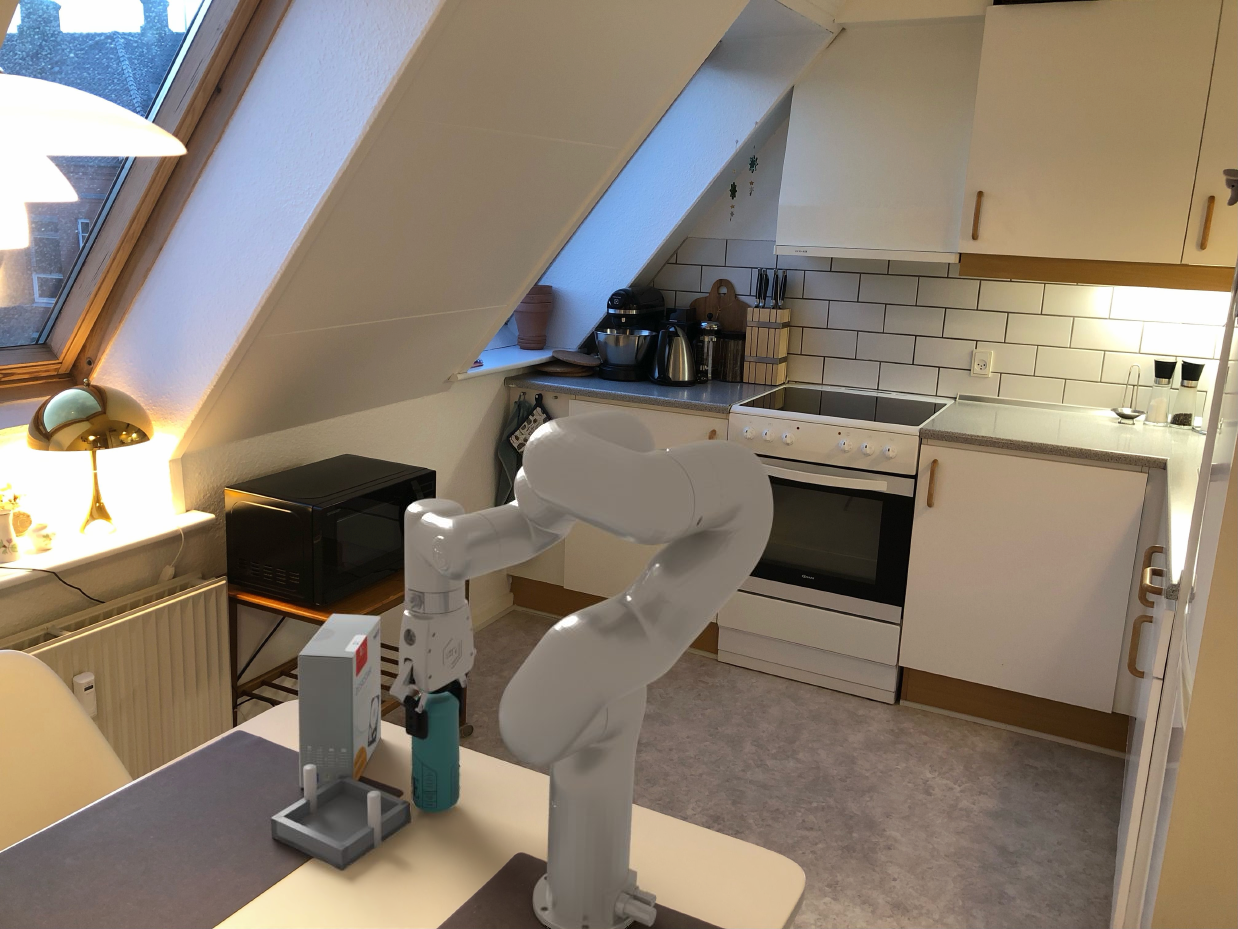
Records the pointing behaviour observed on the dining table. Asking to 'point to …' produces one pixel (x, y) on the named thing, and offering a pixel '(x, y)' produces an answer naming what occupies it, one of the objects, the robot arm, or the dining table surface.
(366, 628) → the hard drive box
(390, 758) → the dining table surface
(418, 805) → the beverage bottle
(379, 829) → the tray
